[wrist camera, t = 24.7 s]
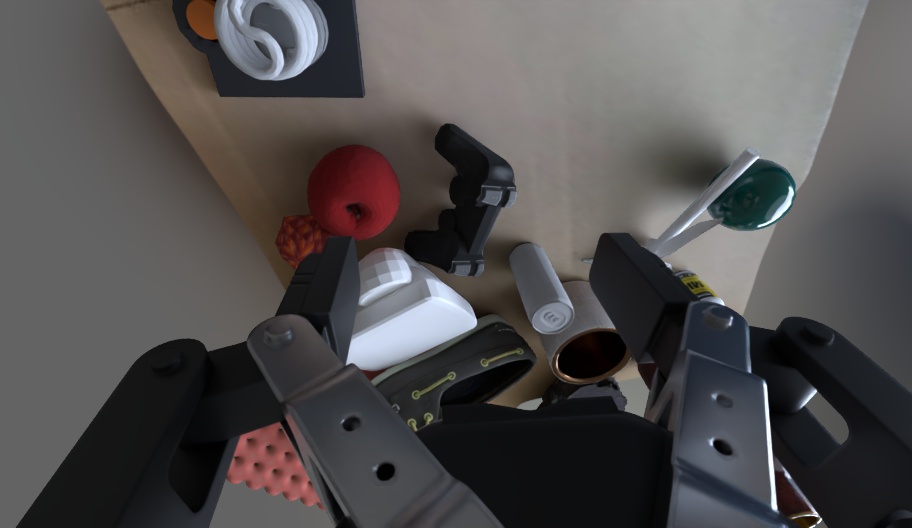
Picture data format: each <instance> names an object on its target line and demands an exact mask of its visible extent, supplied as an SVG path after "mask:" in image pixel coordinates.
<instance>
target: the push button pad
mask: <svg viewBox="0 0 912 528" xmlns="http://www.w3.org/2000/svg"><path fill="white" fill-rule="evenodd" d="M192 1H193V0H173V5H172V7H173V8H172V9H173V12H174V15H175V18H176V21H177V24H178V27H179V29H180V31H181V32H182V33H183V34H184V36H185V37H186V38H187V39H188V40H189V41H190V43H191V44H192V45H193V46H194V47H195V48H196V49H197V50H199V51H201V52H203V53H205V54H207V57H208V60H209V63H210V66H211V69H212V73H213V76H214V79H215V82H216V85H217V89H218V92H219V95H220V97H335V98H363V97H364V96H365V89H364V80H363V71H362V61H361V52H360V43H359V33H358V24H357V15H356V5H355V0H314V2H315V3H316V4H317V5H318V6H319V7H320V8H321V10H322V12H323V14H324V17H325V19H326V21H327V27H328V33H329V35H328V43H327V46H326V49H325V51H324V52H323V54H322V55H321V56H320V58H319V59H318V60H317V61H316V62H315V63H313V64H312V65H311V66H308V67H307V68H306V69H304V70H303V71H302V72H301V73H300V74H298V75H296V76H295V77H291V78H288V79H284V80H276V81H275V80H260V79H256V78H254V77H252V76H250V75H248V74H246V73H244V72H243V71H241V70H240V69H239V68H237V67H236V66H235V65H234V64H233V63H232V62H231V61H230V60H229V58H228V57H227V55H226V54H225V52H224V51H223V49H222V48H221V45H220V43H219V41H218V39H214V40H209V39H205V38H203V37H201V36H199V35H198V34H197V33H196V32H195V31H194V30H193V29H192V28H191V26H190V24H189V22H188V20H187V15H186V11H187V7H188V5H189V3H190V2H192ZM212 1H215V2H216V1H217V0H212ZM254 42H255V40H254ZM255 44H256V42H255ZM256 46H257V47H258V45H257V44H256ZM258 49H259V50H260V48H259V47H258ZM260 51H261V50H260ZM261 52H262V51H261ZM262 53H263V52H262ZM263 54H264V53H263ZM264 55H265V54H264ZM265 56H266V55H265ZM266 57H267V56H266ZM267 58H268V57H267ZM270 60H271V59H270Z"/></svg>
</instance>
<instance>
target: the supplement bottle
mask: <svg viewBox="0 0 912 528" xmlns="http://www.w3.org/2000/svg"><path fill="white" fill-rule="evenodd" d="M675 276H678V277H679V278H680V279H681V281H682V282H683V283H684V284H685V285H686V286H687V287H688V288H689V289H690V290H691V291H692V292H693V293H694V294H695V295H696V296H697V297H698V298H699V299H700V300H701V301H711V302H715V303H719V304H721V305H724V303H723V301H722V300H721V299H720V298H719V297H718V296H717V295H716V294H715V293H714V292H713V291H712V290H711V289H710V288H709V287H708V286H707V285H706V284H705V283H704V282H703V281H702V280H701V279H700V278H699V277H698V276H697V275H696V274H695V273H693V272H691V271H682V272H678V273H676V274H675Z"/></svg>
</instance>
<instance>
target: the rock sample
mask: <svg viewBox="0 0 912 528" xmlns="http://www.w3.org/2000/svg"><path fill="white" fill-rule="evenodd" d="M599 396H612V397H613V399H614V401H615V403H616V405H617V407H618V409H619V410H622V411H624V410H625V405H627V399H626V397H624V396H623V395H622V392H621V391H620V388H619V386H618V382H616V381H615V380H614V378H613V377H608V378H606V379H604V380H601V381H598V382H594V383H588V384H572V383H568V382H565V381H562V380H560V379H558V380H557V383H555V384H554V385H550V386H548V387H547V389H546V390H545V392H544V394H543V395H542V400H543V402H542V403H541V404H540V405H539V407H538V408H537V409H539V408H542V407H545V406H548V405H551V404H554V403H557V402H561V401H564V400H567V399H570V398H581V397H599Z"/></svg>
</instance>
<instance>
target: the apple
mask: <svg viewBox="0 0 912 528" xmlns="http://www.w3.org/2000/svg"><path fill="white" fill-rule="evenodd" d="M307 199H308V205H309V209H310V212H311V214H312V216H313V218H314V219H315V220H316V221H317V222H318V223H319V224H320V225H321V226H322V227H323V228H324V229H326V230H327V231H328V232H330V233H332V234H334V235H336V236H353V237H354V240H355V241H357V240H366V239H368V238H371V237H373V236H375V235H377V234H379V233H380V232H382V231H383V230H384V229H385V228H386V227H387V226H388V225H389V224H390V223H391V222H392V221H393V219H394V218H395V216H396V214H397V212H398V208H399V203H400V186H399V182H398V179H397V176H396V174H395V172H394V170H393V168H392V167H391V165H390V164H389V162H388V161H387V159H386V158H385V157H384V156H383V155H382V154H380V153H379V152H377V151H375V150H374V149H372V148H369V147H366V146H363V145H347V146H344V147H340V148H337V149H335V150H333V151H331V152H329V153H328V154H327V155H325V156H324V157H323V158H322V159H321V160H320V161H319V163H318V164H317V165H316V166H315V168H314V169H313V170H312V172H311V174H310V177H309V180H308V187H307Z"/></svg>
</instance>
